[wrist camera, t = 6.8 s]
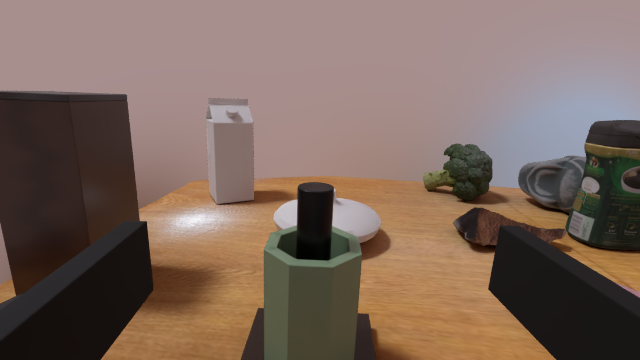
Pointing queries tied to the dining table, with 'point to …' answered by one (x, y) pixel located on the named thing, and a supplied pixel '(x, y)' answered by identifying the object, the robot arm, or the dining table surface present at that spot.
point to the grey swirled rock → (553, 181)
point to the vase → (337, 217)
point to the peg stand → (313, 246)
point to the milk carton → (230, 150)
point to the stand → (62, 177)
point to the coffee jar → (609, 188)
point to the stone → (496, 227)
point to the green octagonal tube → (311, 299)
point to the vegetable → (463, 172)
